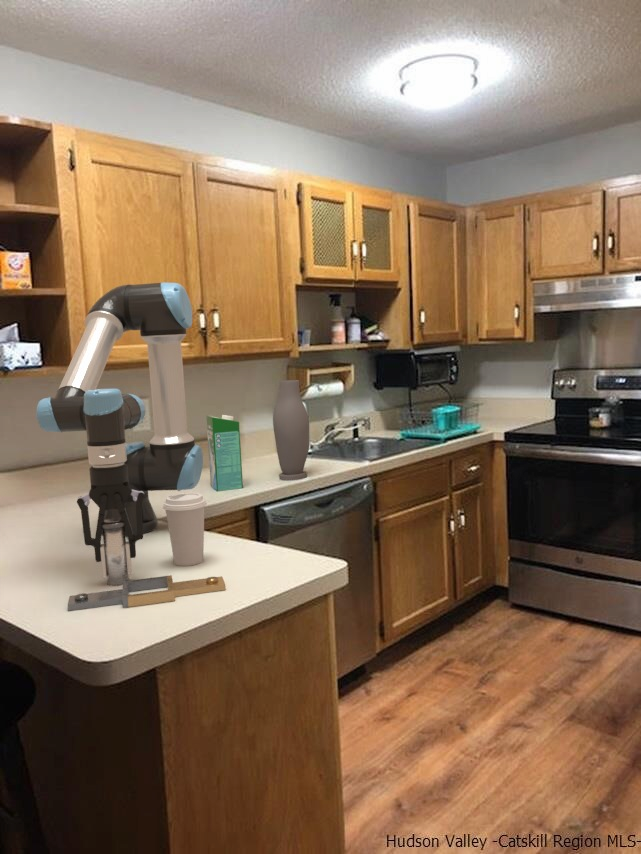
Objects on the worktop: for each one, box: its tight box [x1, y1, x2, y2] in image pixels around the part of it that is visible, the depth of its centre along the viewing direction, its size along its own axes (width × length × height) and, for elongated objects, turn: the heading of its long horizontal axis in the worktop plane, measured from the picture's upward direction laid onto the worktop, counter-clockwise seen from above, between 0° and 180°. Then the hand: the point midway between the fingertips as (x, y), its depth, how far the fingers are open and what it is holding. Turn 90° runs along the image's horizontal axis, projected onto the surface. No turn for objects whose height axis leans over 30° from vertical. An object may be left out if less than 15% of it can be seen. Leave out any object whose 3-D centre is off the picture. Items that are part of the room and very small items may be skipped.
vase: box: [272, 379, 310, 481], centre depth 250 cm, size 13×13×35 cm
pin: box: [101, 518, 130, 587], centre depth 146 cm, size 5×5×13 cm
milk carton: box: [206, 414, 244, 492], centre depth 238 cm, size 9×9×25 cm
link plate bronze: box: [128, 574, 226, 608], centre depth 139 cm, size 10×19×2 cm, turn 105°
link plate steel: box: [67, 575, 168, 612], centre depth 136 cm, size 10×19×2 cm, turn 105°
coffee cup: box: [162, 492, 207, 567], centre depth 157 cm, size 10×10×15 cm
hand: (117, 574), depth 146 cm, fingers closed on pin, 4 cm apart
